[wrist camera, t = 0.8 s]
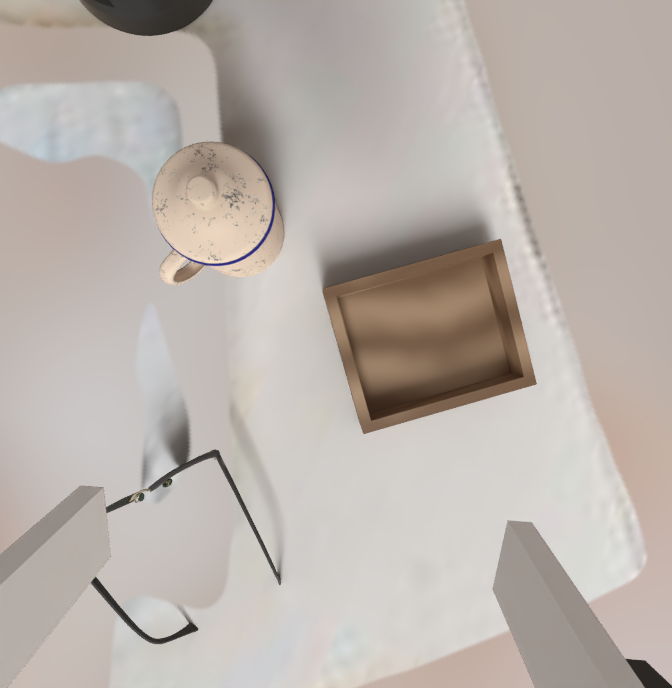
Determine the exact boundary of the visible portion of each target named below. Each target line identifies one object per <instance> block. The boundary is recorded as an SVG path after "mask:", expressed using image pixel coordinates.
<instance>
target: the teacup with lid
mask: <svg viewBox="0 0 672 688" xmlns="http://www.w3.org/2000/svg"><path fill="white" fill-rule="evenodd" d="M152 207H153V213H154V217H155V221H156V223H157V226H158V228H159V230H160V232H161V234H162V236H163V237H164V239H165V240H166V241H167V243H168V244H169V245H170V246H171V247H172V248H173V250H172V252H171V253H170V254H169V255H168V256H167V257H166V258H165V260H164V261H163V263H162V265H161V267H160V270H159V275H160V277H161V279H163V280H164V281H165V282H166V283H167V284H169V285H179V284H182V283H185V282H187V281H189V280H190V279H192V278H194V277H195V276H196V275H197V274H199V273H200V272H201V271H202V270H203V269H204V268H205V267H206V266H209V267H211V268H214V269H216V270H218V271H220V272H222V273H224V274H227V275H230V276H236V277H246V276H251V275H255V274H257V273H260V272H262V271H263V270H265V269H266V268H268V267H269V266H270V265H271V264H272V263H273V262H274V261H275V259H276V258H277V256H278V255H279V253H280V250H281V248H282V245H283V239H284V227H283V222H282V219H281V216H280V213H279V211H278V208H277V206H276V204H275V197H274V192H273V189H272V185H271V183H270V180H269V178H268V176H267V175H266V173H265V171H264V170H263V169H262V167H261V166H260V165H259V164H258V163H257V162H256V160H254V159H253V158H252V157H251V156H250V155H248V154H247V153H245V152H244V151H242V150H240V149H238V148H236V147H234V146H231V145H228V144H224V143H219V142H202V143H196V144H192V145H190V146H187V147H185V148H183V149H181V150H180V151H178V152H176V153H175V154H174V155H173V156H171V157H170V158H169V159H168V160H167V162H166V163H165V164H164V165H163V167H162V168H161V170H160V172H159V174H158V176H157V178H156V181H155V184H154V188H153V195H152ZM187 259H188V260H191V261H190V262H189V263H188V264H187V265H186V266H184V267H183V268H181V269H179V268H180V267H181V265H182V264H183V263H184V262H185V261H186V260H187ZM178 269H179V270H178Z"/></svg>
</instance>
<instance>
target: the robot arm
mask: <svg viewBox="0 0 672 688" xmlns="http://www.w3.org/2000/svg"><path fill="white" fill-rule="evenodd" d="M80 1H81V3H82V4H83V5H84V6H85V7H86V8H87V9H88V10H89V11H90V12H91V13H92V14H93V15H94V16H95V17H97V18H98V19H99V20H101V21H102V22H104V23H105V24H107V25H109V26H111V27H113V28H115V29H117V30H120V31H123V32H126V33H130V34H135V35H143V36H153V35H162V34H167V33H170V32H173V31H176V30H178V29H181V28H183V27H185V26H186V25H188V24H190V23H191V22H192V21H194V20H195V19H196V18H198V17H199V16H200V15H201V14H202V13H203V12H204V11H205V10H206V8H207V7H208V6H209V4H210V3H211V2H212V0H80ZM110 557H111V550H110V541H109V532H108V524H107V514H106V505H105V496H104V488H103V487H91V486H79V487H78V488H77V489H76V490H75V491H74V492H72V493H71V494H70V495H69V496H68V497H67V498H65V499H64V500H63V501H62V502H61V503H60V504H59V505H57V506H56V507H55V508H54V509H53V510H51V511H50V512H49V513H48V514H47V515H46V516H45V517H43V518H42V519H41V520H40V521H39V522H38V523H36V524H35V525H34V526H33V527H32V528H31V529H29V530H28V531H27V532H26V533H25V534H24V535H22V536H21V537H20V538H19V539H18V540H17V541H15V542H14V543H13V544H12V545H11V546H10V547H9V548H7V549H6V550H5V551H4V552H3V553H1V554H0V688H8V687H9V685H10V684H11V683H12V682H13V680H14V679H15V678H16V677H17V675H18V674H19V673H20V672H21V670H22V669H23V668H24V667H25V665H26V664H27V663H28V661H29V660H30V659H31V658H32V656H33V655H34V654H35V653H36V651H37V650H38V649H39V647H40V646H41V645H42V644H43V642H44V641H45V640H46V639H47V637H48V636H49V635H50V633H51V632H52V631H53V630H54V628H55V627H56V626H57V625H58V623H59V622H60V621H61V620H62V618H63V617H64V616H65V614H66V613H67V612H68V611H69V609H70V608H71V607H72V606H73V604H74V603H75V602H76V601H77V599H78V598H79V597H80V596H81V594H82V593H83V592H84V590H85V589H86V588H87V587H88V585H89V584H90V583H91V582H92V580H93V579H94V578H95V576H96V575H97V574H98V572H99V571H100V570H101V569H102V568H103V566H104V565H105V564H106V563H107V561H108V560H109V559H110ZM493 591H494V594H495V596H496V598H497V601H498V603H499V605H500V608H501V610H502V612H503V614H504V617H505V619H506V621H507V624H508V626H509V628H510V631H511V633H512V635H513V637H514V640H515V642H516V645H517V647H518V649H519V652H520V654H521V656H522V659H523V661H524V663H525V666H526V668H527V670H528V673H529V675H530V677H531V680H532V682H533V684H534V687H535V688H672V686H671V685H670V684H669V683H668V682H667V681H666V680H665V679H664V678H663V677H662V676H661V675H659V673H657V671H655V670H654V669H653V668H652V667H651V666H650V665H649V664H648V663H647V662H646V661H643V660H631V659H625V658H624V656H623V655H622V654H621V652H620V651H619V649H618V648H617V646H616V645H615V643H614V642H613V640H612V639H611V638H610V636H609V635H608V633H607V632H606V630H605V629H604V627H603V626H602V624H601V623H600V621H599V620H598V618H597V617H596V616H595V614H594V613H593V611H592V610H591V608H590V607H589V605H588V604H587V602H586V601H585V599H584V598H583V597H582V595H581V594H580V592H579V591H578V589H577V588H576V586H575V585H574V583H573V582H572V580H571V579H570V578H569V576H568V575H567V573H566V572H565V570H564V569H563V567H562V566H561V564H560V563H559V561H558V560H557V559H556V557H555V556H554V554H553V553H552V551H551V550H550V548H549V547H548V545H547V544H546V542H545V541H544V540H543V538H542V537H541V535H540V534H539V532H538V531H537V529H536V528H535V526H534V525H533V523H532V522H520V521H508V522H507V526H506V531H505V535H504V540H503V544H502V549H501V553H500V558H499V562H498V567H497V571H496V576H495V580H494V585H493Z"/></svg>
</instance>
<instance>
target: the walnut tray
mask: <svg viewBox="0 0 672 688" xmlns="http://www.w3.org/2000/svg"><path fill="white" fill-rule="evenodd" d="M323 295H324V298H325V302H326V305H327V309H328V312H329V316H330V319H331V323H332V327H333V330H334V334H335V337H336V341H337V344H338V348H339V351H340V355H341V358H342V362H343V366H344V369H345V373H346V376H347V380H348V383H349V387H350V390H351V394H352V397H353V401H354V405H355V408H356V412H357V415H358V419H359V422H360V425H361V428H362V431H363V434H366V433H369V432H373V431H376V430H379V429H383V428H386V427H390V426H393V425H397V424H400V423H404V422H407V421H411V420H414V419H418V418H421V417H425V416H428V415H432V414H435V413H439V412H442V411H445V410H449V409H452V408H456V407H459V406H463V405H466V404H470V403H473V402H477V401H480V400H484V399H487V398H491V397H494V396H498V395H501V394H505V393H508V392H511V391H515V390H518V389H522V388H525V387H529V386H532V385H536V384H537V383H536V379H535V375H534V371H533V367H532V363H531V359H530V355H529V351H528V347H527V343H526V339H525V334H524V330H523V326H522V322H521V318H520V314H519V310H518V306H517V302H516V298H515V294H514V290H513V286H512V282H511V278H510V273H509V269H508V265H507V261H506V257H505V253H504V249H503V245H502V241H501V239H499V240H495V241H492V242H488V243H484V244H481V245H477V246H474V247H470V248H467V249H463V250H459V251H456V252H452V253H449V254H445V255H442V256H438V257H434V258H431V259H427V260H424V261H420V262H417V263H413V264H409V265H406V266H402V267H399V268H395V269H392V270H388V271H385V272H381V273H377V274H374V275H370V276H367V277H363V278H360V279H356V280H352V281H349V282H345V283H342V284H338V285H335V286H331V287H327V288H324V289H323Z"/></svg>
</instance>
